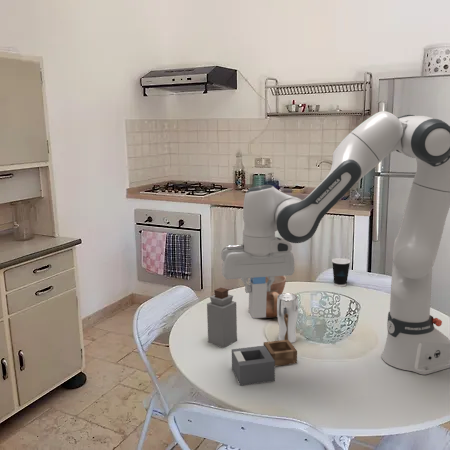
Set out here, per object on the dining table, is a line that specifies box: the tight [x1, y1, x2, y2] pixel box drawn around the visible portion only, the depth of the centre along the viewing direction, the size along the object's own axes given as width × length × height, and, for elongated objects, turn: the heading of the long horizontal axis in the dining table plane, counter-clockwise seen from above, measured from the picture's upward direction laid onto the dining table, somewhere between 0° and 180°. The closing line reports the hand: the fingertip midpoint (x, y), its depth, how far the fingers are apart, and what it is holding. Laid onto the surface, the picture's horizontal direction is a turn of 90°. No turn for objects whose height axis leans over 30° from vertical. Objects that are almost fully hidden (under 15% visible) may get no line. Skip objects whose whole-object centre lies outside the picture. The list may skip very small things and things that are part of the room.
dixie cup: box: [331, 257, 352, 288], centre depth 213 cm, size 8×8×11 cm
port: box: [231, 344, 276, 386], centre depth 141 cm, size 10×10×6 cm
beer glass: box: [276, 292, 299, 344], centre depth 162 cm, size 7×7×15 cm
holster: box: [263, 340, 298, 367], centre depth 150 cm, size 8×8×4 cm
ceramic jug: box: [265, 276, 287, 319], centre depth 183 cm, size 18×14×14 cm
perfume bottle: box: [206, 287, 238, 349], centre depth 161 cm, size 7×7×18 cm
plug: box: [248, 277, 267, 319], centre depth 139 cm, size 4×4×12 cm
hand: (257, 291), depth 139 cm, fingers closed on plug, 4 cm apart
